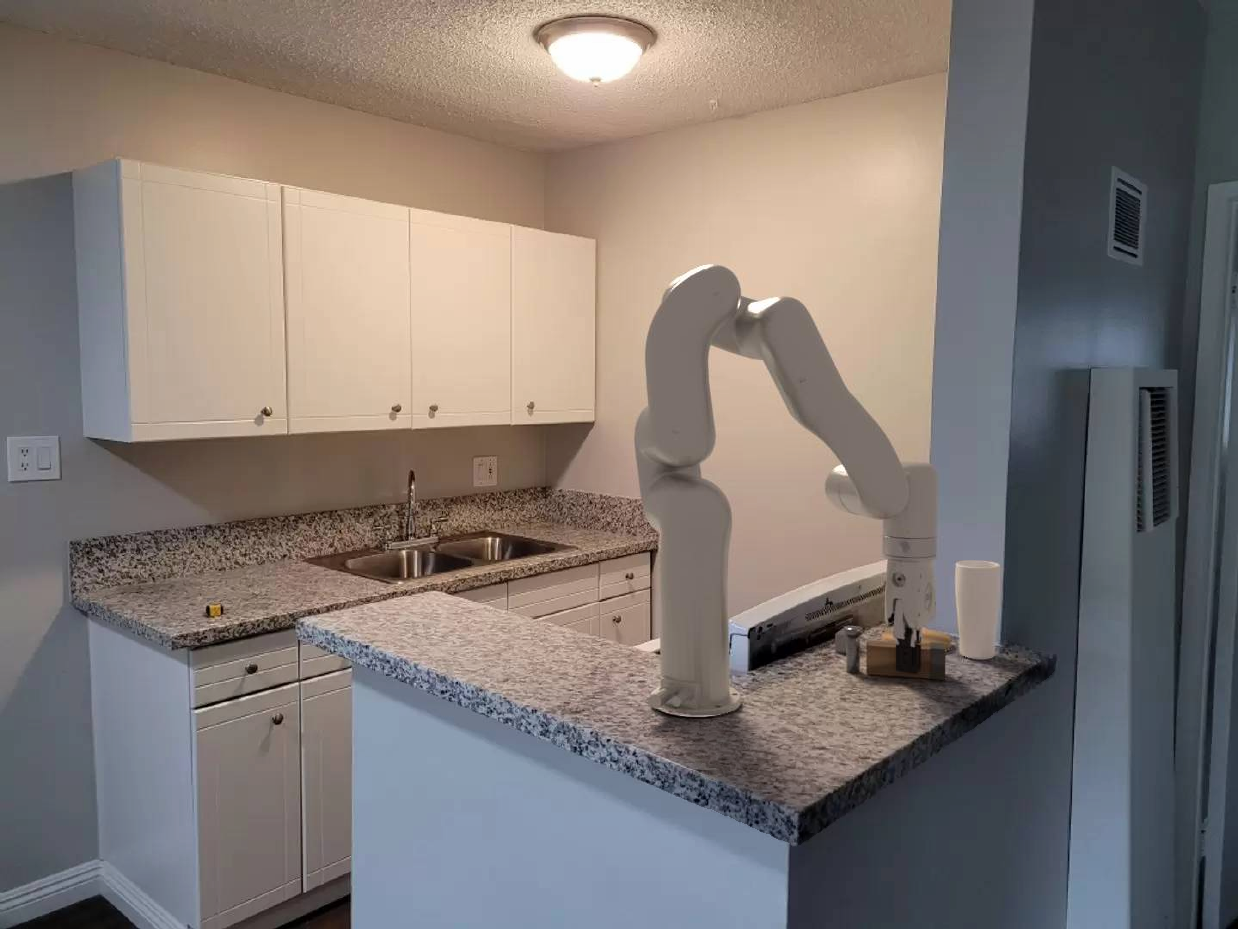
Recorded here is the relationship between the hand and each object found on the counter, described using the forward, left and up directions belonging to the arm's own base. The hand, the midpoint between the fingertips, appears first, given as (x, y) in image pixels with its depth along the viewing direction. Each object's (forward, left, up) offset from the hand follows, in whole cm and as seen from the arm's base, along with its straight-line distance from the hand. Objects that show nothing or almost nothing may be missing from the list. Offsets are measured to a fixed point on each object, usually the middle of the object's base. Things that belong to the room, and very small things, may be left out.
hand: (908, 671), depth 131 cm
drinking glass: (+19, -6, -2) cm, 20 cm away
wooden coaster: (+21, +4, -2) cm, 21 cm away
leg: (+4, +1, -2) cm, 4 cm away
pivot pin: (+2, +9, -2) cm, 9 cm away
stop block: (+13, +13, -2) cm, 18 cm away
